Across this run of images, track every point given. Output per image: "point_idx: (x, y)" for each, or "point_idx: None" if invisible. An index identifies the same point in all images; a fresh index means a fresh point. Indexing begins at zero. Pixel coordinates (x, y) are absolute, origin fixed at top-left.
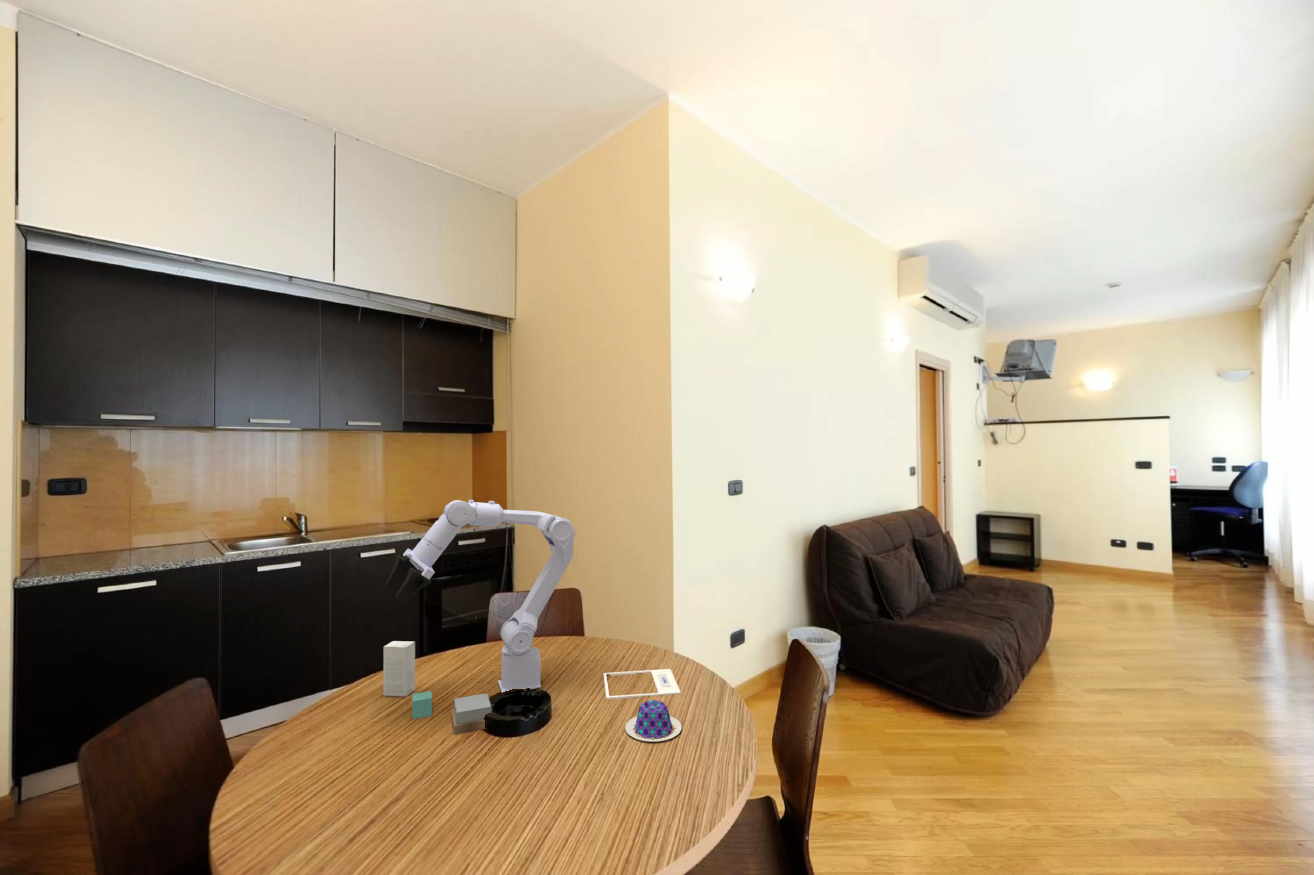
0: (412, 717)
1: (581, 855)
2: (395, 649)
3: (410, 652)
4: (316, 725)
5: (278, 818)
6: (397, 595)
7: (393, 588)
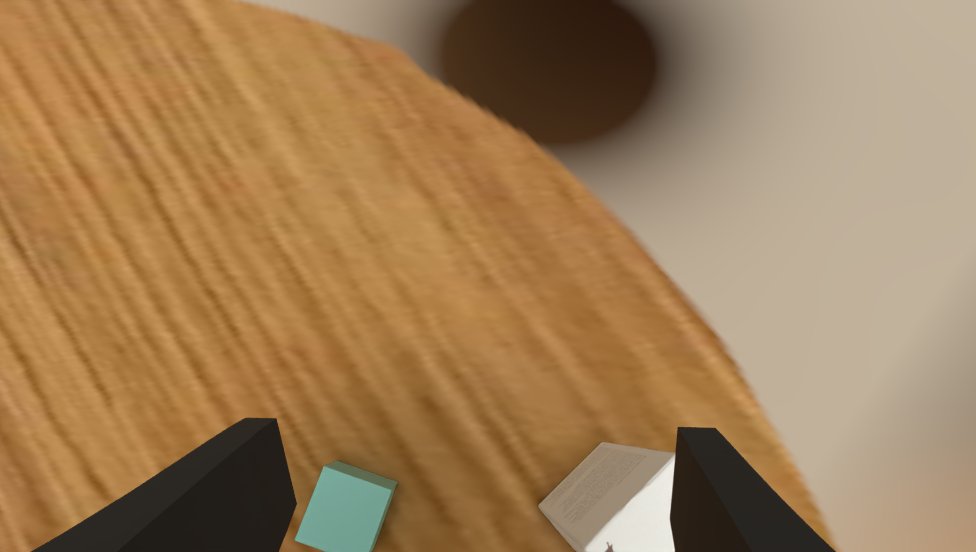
0: (336, 461)
1: None
2: (624, 500)
3: None
4: (514, 219)
5: (85, 62)
6: (219, 434)
7: (672, 524)
